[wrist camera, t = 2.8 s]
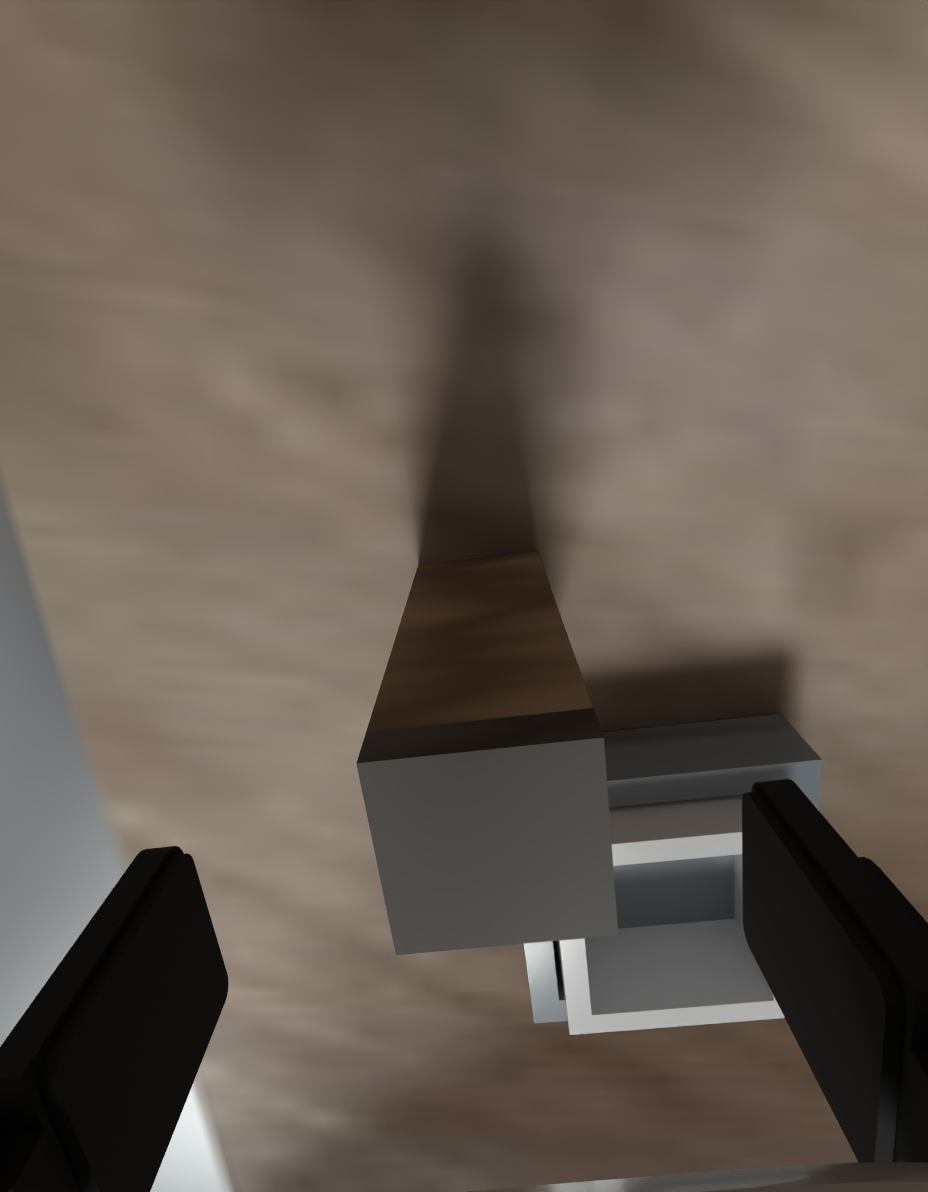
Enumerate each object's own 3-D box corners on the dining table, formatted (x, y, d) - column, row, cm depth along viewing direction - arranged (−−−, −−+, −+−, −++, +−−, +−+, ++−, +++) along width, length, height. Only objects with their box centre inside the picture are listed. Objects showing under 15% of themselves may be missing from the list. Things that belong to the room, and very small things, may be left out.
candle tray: (780, 713, 24) (847, 787, 19) (775, 934, 27) (833, 1040, 22) (500, 742, 24) (506, 821, 20) (528, 956, 27) (537, 1063, 23)
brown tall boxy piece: (537, 551, 22) (603, 737, 11) (548, 661, 23) (618, 935, 12) (418, 565, 22) (356, 763, 11) (435, 674, 23) (395, 955, 12)
